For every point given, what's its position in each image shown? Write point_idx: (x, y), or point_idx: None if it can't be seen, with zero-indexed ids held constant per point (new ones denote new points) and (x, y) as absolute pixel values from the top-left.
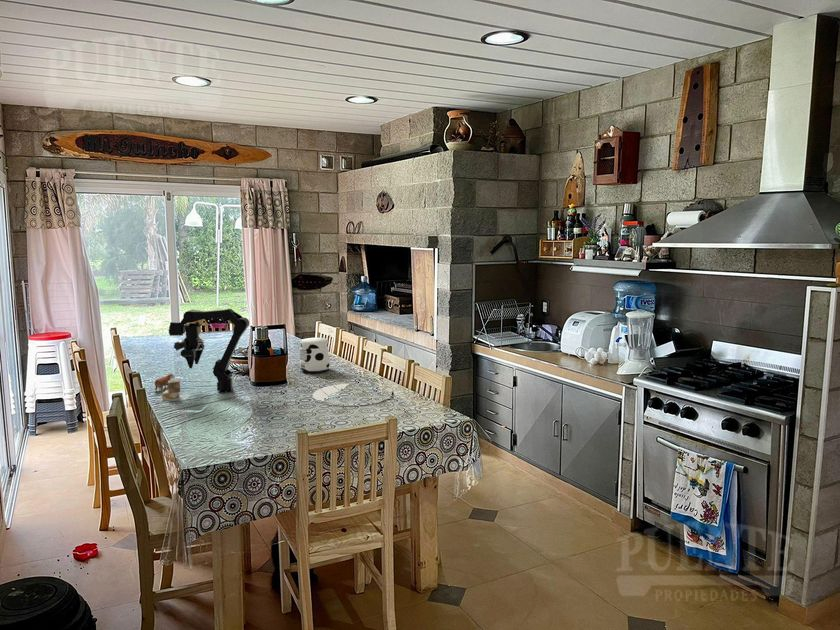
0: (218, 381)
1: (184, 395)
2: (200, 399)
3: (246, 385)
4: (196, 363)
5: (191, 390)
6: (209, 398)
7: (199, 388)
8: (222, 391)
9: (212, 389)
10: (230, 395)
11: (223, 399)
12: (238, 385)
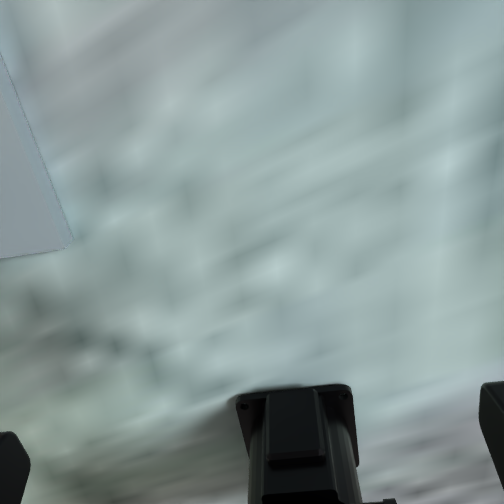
0: (262, 483)
1: (7, 196)
2: (18, 348)
3: (476, 498)
4: (488, 419)
5: (303, 122)
6: (68, 396)
7: (395, 174)
8: (247, 432)
9: (351, 316)
10: (182, 487)
11: (76, 480)
12: (484, 454)
